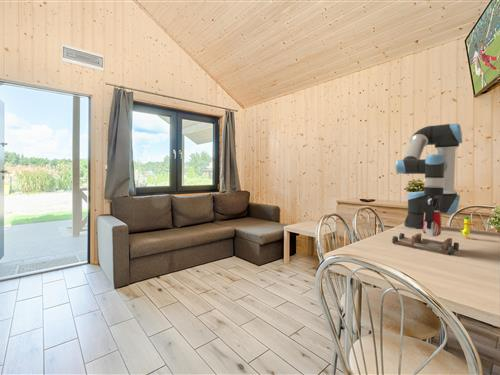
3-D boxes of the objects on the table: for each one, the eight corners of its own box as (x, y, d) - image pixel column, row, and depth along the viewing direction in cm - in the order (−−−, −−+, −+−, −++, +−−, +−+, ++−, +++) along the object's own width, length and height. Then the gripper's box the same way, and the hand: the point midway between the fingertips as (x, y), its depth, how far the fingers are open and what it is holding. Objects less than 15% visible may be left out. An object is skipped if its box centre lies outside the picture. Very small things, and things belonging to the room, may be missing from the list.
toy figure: (475, 238, 139) (477, 217, 138) (475, 240, 136) (477, 218, 135) (459, 236, 143) (461, 215, 143) (459, 238, 141) (460, 216, 140)
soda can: (440, 237, 119) (441, 212, 118) (422, 235, 123) (423, 210, 123) (440, 234, 125) (441, 210, 124) (423, 232, 129) (424, 208, 128)
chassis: (401, 238, 140) (402, 229, 140) (458, 249, 122) (459, 238, 121) (391, 243, 132) (392, 233, 132) (451, 255, 113) (452, 244, 113)
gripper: (431, 185, 132) (429, 229, 133) (417, 187, 119) (415, 235, 120) (449, 186, 126) (446, 232, 127) (437, 188, 113) (434, 239, 115)
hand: (431, 233), depth 124 cm, fingers closed on soda can, 7 cm apart
